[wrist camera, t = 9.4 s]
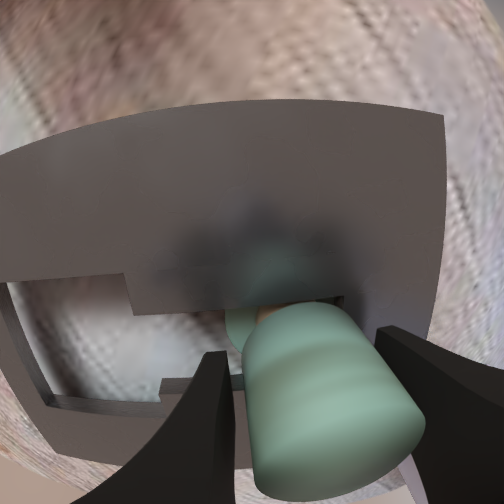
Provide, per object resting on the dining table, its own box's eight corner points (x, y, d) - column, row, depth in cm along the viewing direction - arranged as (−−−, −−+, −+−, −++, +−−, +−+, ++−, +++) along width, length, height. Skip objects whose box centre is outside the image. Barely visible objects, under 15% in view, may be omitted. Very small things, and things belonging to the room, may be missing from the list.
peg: (332, 346, 13) (404, 480, 6) (228, 357, 13) (238, 516, 5) (341, 247, 12) (473, 357, 4) (220, 254, 12) (216, 411, 4)
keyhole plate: (375, 406, 15) (392, 436, 12) (69, 423, 14) (56, 452, 11) (403, 121, 10) (443, 115, 8) (-17, 175, 9) (-53, 182, 7)
